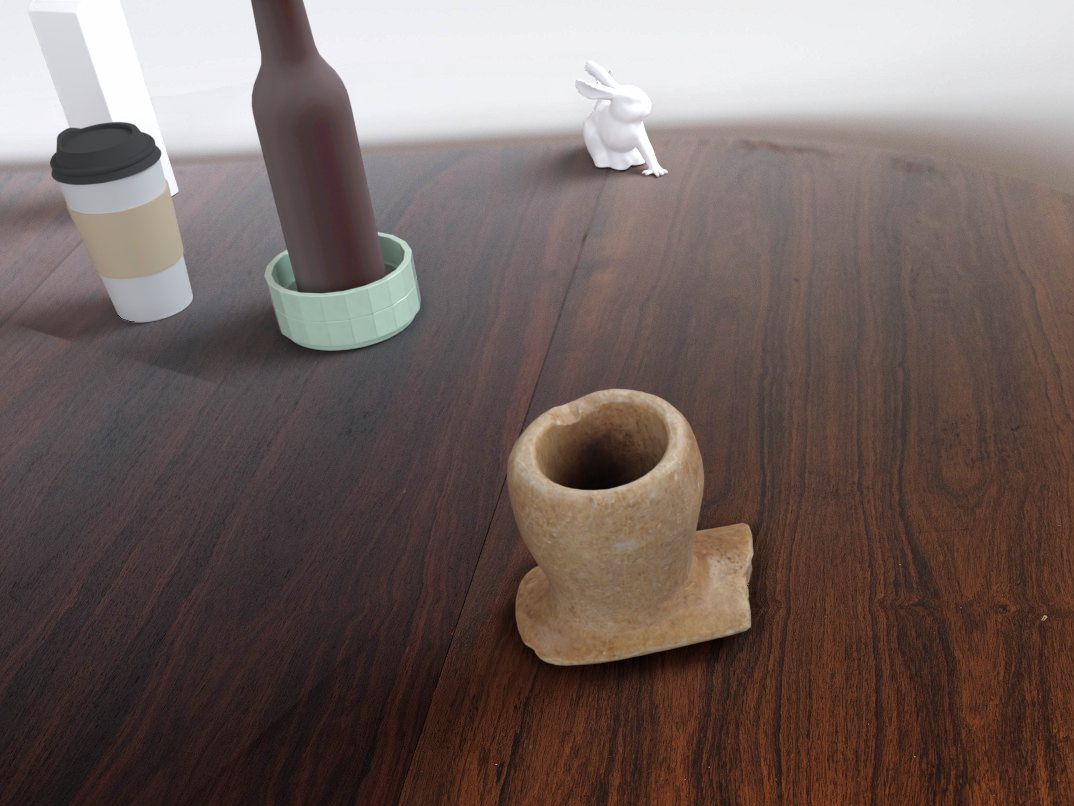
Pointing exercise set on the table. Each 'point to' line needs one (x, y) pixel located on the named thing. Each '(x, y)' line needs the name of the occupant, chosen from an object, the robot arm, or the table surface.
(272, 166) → the beer bottle
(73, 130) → the coffee cup
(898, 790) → the table surface
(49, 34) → the milk
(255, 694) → the table surface
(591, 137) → the rabbit figurine
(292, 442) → the table surface
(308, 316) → the bowl
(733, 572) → the stone cup
